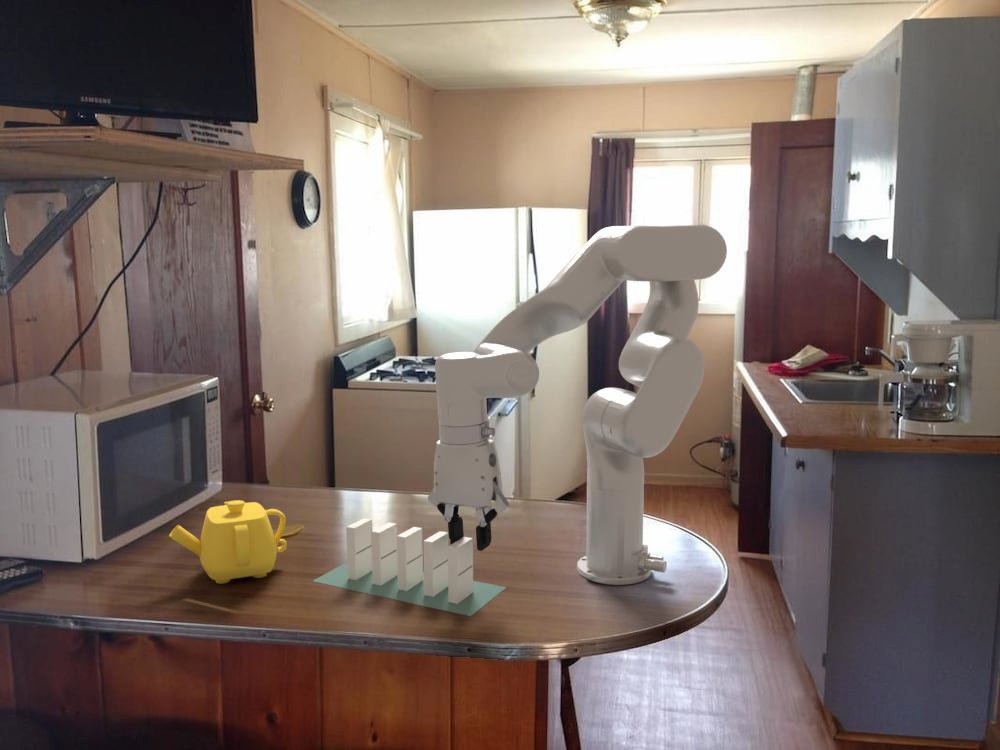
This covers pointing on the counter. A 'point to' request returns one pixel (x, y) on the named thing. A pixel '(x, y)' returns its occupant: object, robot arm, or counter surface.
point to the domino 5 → (460, 569)
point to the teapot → (235, 541)
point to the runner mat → (412, 591)
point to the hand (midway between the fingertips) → (470, 544)
